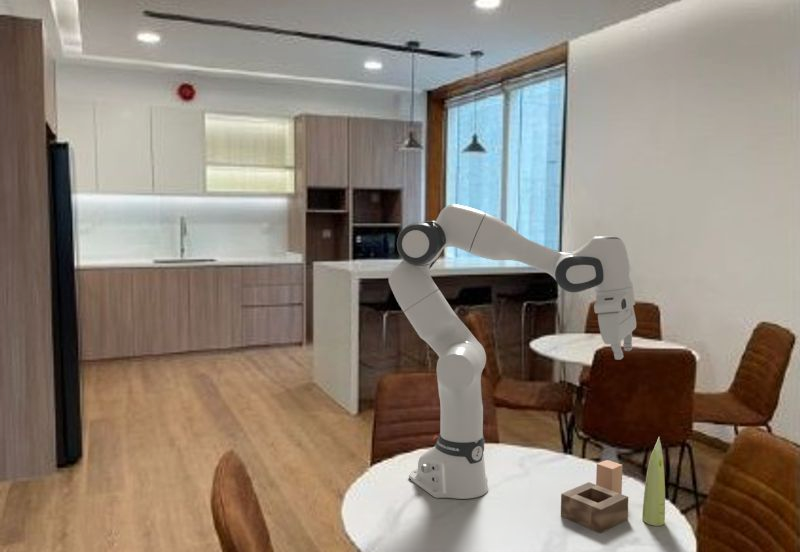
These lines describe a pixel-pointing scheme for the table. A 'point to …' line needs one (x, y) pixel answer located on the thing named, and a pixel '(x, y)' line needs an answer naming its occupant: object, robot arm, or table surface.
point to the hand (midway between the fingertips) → (624, 354)
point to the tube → (655, 489)
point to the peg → (609, 476)
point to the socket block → (594, 507)
